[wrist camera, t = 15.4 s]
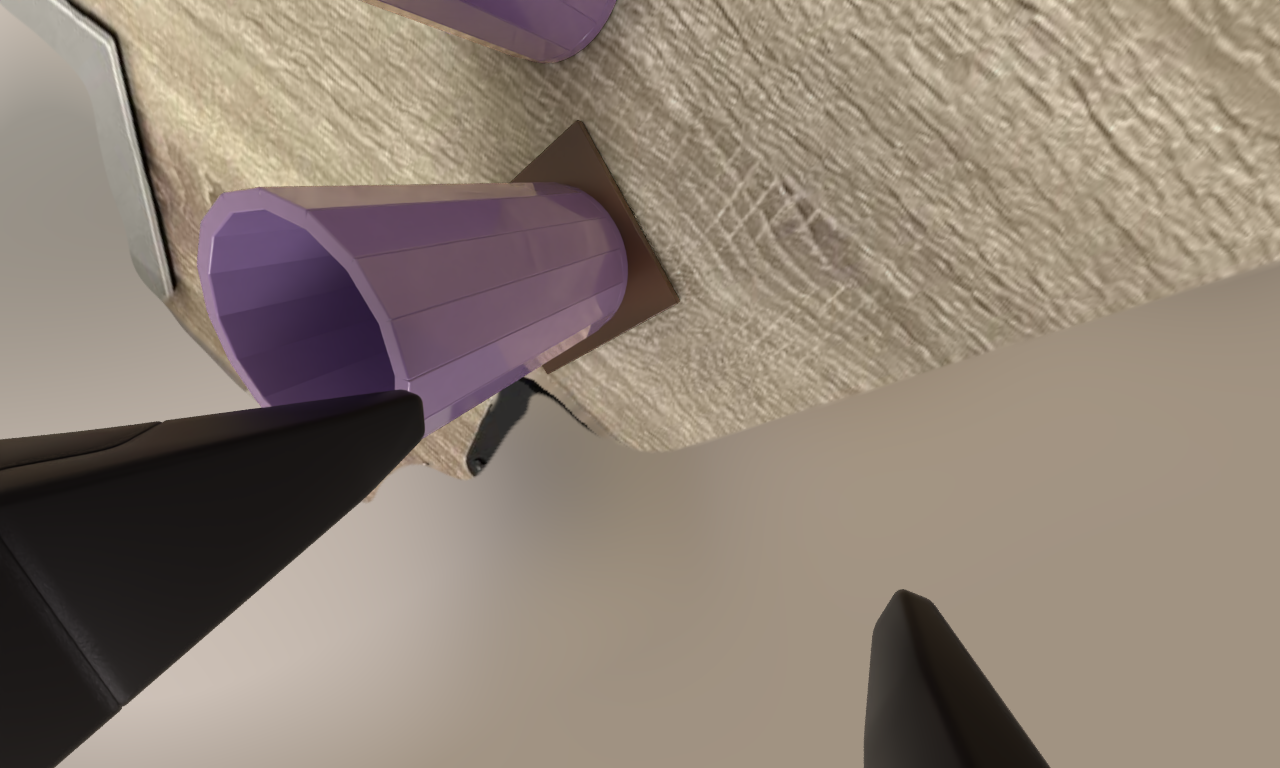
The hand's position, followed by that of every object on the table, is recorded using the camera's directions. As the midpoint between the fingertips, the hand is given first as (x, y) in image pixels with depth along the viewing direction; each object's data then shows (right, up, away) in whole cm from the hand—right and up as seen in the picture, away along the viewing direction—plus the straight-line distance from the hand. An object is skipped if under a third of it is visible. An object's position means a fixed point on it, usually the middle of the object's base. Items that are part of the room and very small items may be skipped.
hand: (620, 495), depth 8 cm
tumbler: (-3, +8, +13) cm, 15 cm away
